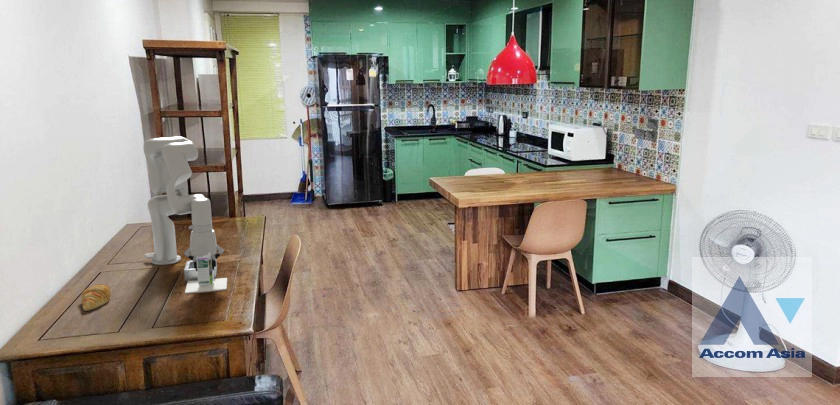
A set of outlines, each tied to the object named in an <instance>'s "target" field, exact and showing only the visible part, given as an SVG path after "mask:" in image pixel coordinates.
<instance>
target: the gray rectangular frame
mask: <svg viewBox="0 0 840 405" xmlns="http://www.w3.org/2000/svg"><path fill="white" fill-rule="evenodd" d="M217 271H218V262H217V261H216V267H215V268H214V270H213V273H214V279H217ZM183 273H184V282H188V281H196V280H198V271H196V269H194V262H193V261H192V260H186V262H185V266H184V270H183Z"/></svg>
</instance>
